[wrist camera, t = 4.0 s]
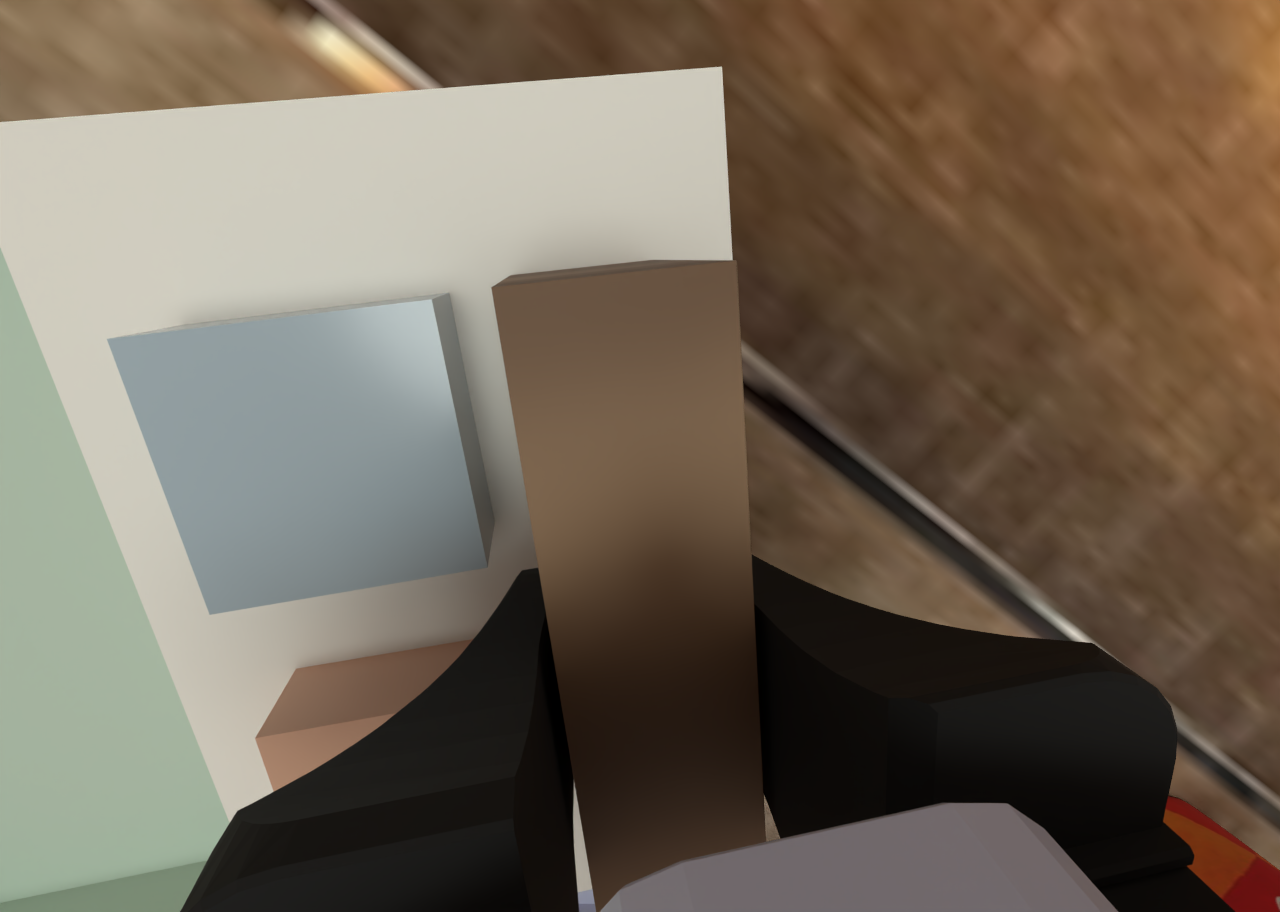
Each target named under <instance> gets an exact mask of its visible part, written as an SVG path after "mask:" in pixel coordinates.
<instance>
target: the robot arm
mask: <svg viewBox="0 0 1280 912" xmlns="http://www.w3.org/2000/svg"><path fill="white" fill-rule="evenodd" d="M751 555H752V554H751ZM752 575H753V595H754V615H755V634H756V654H757V674H758V694H759V714H760V734H761V754H762V774H763V793H764V796H765V798H766V800H767V803H768V805H769V808H770V810H771V813H772V816H773V819H774V822H775V824H776V827H777V830H778V833H779V835H780V838H781V839H777V840H773V841H768V842H764V843H759V844H755V845H750V846H746V847H741V848H737V849H732V850H728V851H723V852H719V853H714V854H710V855H705V856H701V857H696V858H692V859H687V860H683V861H679V862H677V863H675V864H672V865H670V866H668V867H666V868H663V869H661V870H659V871H656V872H654V873H652V874H650V875H647V876H645V877H643V878H640V879H638V880H636V881H633V882H631V883H629V884H627V885H625V886H624V887H622V888H621V889H620V890H619V891H618V892H617V893H616V894H615V895H614V897H613V898H612V899H611V900H610V901H609V902H608V903H607V904H606V905H605V906H604V907H603V909H602V910H601V911H600V912H1235V911H1234V910H1233V909H1232V908H1231V907H1230V906H1229V905H1228V904H1227V903H1226V902H1225V901H1224V900H1223V899H1221V898H1220V897H1219V896H1218V895H1217V894H1216V893H1215V892H1214V891H1213V890H1212V889H1211V888H1210V887H1209V886H1208V885H1206V884H1205V883H1204V882H1203V881H1202V880H1201V879H1200V878H1199V877H1198V876H1197V875H1196V874H1195V873H1194V872H1193V871H1191V870H1190V869H1189V868H1188V867H1187V866H1188V865H1192V864H1193V860H1194V856H1195V855H1194V853H1193V851H1192V849H1191V847H1190V845H1189V844H1187V843H1186V842H1185V841H1184V840H1183V839H1182V838H1181V837H1180V836H1179V835H1177V834H1176V833H1175V832H1174V831H1173V830H1172V829H1171V828H1170V827H1169V826H1167V825H1166V824H1165V823H1164V822H1163V819H1164V814H1165V809H1166V804H1167V799H1168V794H1169V789H1170V785H1171V780H1172V775H1173V770H1174V765H1175V760H1176V747H1177V727H1176V723H1175V719H1174V716H1173V712H1172V709H1171V706H1170V704H1169V703H1168V702H1167V700H1166V699H1165V698H1164V697H1163V695H1162V694H1161V693H1160V691H1159V690H1158V689H1157V688H1156V687H1155V686H1153V685H1152V684H1150V683H1149V682H1147V681H1146V680H1145V679H1143V678H1142V677H1140V676H1139V675H1137V674H1136V673H1135V672H1133V671H1132V670H1130V669H1129V668H1127V667H1126V666H1125V665H1123V664H1122V663H1120V662H1119V661H1117V660H1116V659H1115V658H1113V657H1112V656H1110V655H1109V654H1107V653H1106V652H1105V651H1103V650H1102V649H1100V648H1099V647H1097V646H1096V645H1095V644H1093V643H1086V642H1074V641H1062V640H1050V639H1037V638H1025V637H1014V636H1006V635H999V634H992V633H986V632H979V631H972V630H966V629H960V628H955V627H950V626H944V625H939V624H934V623H930V622H926V621H922V620H918V619H913V618H909V617H905V616H901V615H897V614H893V613H890V612H886V611H883V610H879V609H876V608H873V607H870V606H867V605H864V604H861V603H858V602H855V601H852V600H849V599H846V598H843V597H841V596H838V595H836V594H833V593H830V592H828V591H826V590H823V589H821V588H819V587H816V586H814V585H812V584H810V583H807V582H805V581H803V580H801V579H798V578H796V577H794V576H792V575H790V574H788V573H786V572H784V571H782V570H780V569H778V568H776V567H774V566H772V565H770V564H768V563H767V562H765V561H763V560H761V559H759V558H757V557H755V556H754V555H752ZM573 804H574V777H573V771H572V765H571V759H570V753H569V747H568V741H567V735H566V729H565V724H564V718H563V712H562V706H561V700H560V694H559V688H558V682H557V676H556V670H555V664H554V658H553V652H552V646H551V640H550V634H549V628H548V622H547V616H546V610H545V604H544V599H543V593H542V587H541V581H540V575H539V569H538V568H533V569H527V570H522V571H521V572H520V573H519V575H518V576H517V577H516V579H515V580H514V582H513V583H512V585H511V587H510V588H509V590H508V591H507V593H506V595H505V596H504V598H503V599H502V601H501V602H500V604H499V605H498V607H497V608H496V610H495V611H494V612H493V614H492V615H491V617H490V618H489V619H488V621H487V622H486V624H485V625H484V626H483V628H482V629H481V630H480V632H479V633H478V634H477V635H476V637H475V638H474V639H473V640H472V641H471V643H470V644H469V645H468V646H467V647H466V649H465V650H464V651H463V652H462V654H461V655H460V656H459V657H458V658H457V659H456V660H455V661H454V662H453V663H452V664H451V665H450V666H449V667H448V668H447V670H446V671H444V672H443V673H442V674H441V675H440V676H439V677H438V678H437V679H436V680H435V681H434V682H433V683H432V684H431V685H430V686H429V687H428V688H426V689H425V690H424V691H423V692H422V693H421V694H420V695H418V696H417V697H416V698H415V699H413V700H412V701H411V702H410V703H408V704H407V705H406V706H405V707H403V708H402V709H401V710H400V711H398V712H397V713H396V714H395V715H393V716H392V717H391V718H390V719H388V720H387V721H386V722H385V723H383V724H382V725H381V726H379V727H378V728H377V729H375V730H374V731H373V732H371V733H370V734H368V735H367V736H365V737H364V738H362V739H361V740H360V741H358V742H357V743H355V744H354V745H352V746H351V747H349V748H348V749H346V750H344V751H343V752H341V753H340V754H338V755H337V756H335V757H333V758H332V759H330V760H329V761H327V762H326V763H324V764H322V765H321V766H319V767H317V768H316V769H314V770H312V771H311V772H309V773H307V774H305V775H303V776H302V777H300V778H298V779H296V780H294V781H292V782H291V783H289V784H287V785H285V786H283V787H281V788H280V789H278V790H276V791H274V792H272V793H270V794H269V795H267V796H265V797H263V798H261V799H259V800H258V801H256V802H254V803H252V804H250V805H248V806H246V807H244V808H242V809H240V810H238V811H237V812H236V814H235V815H234V817H233V818H232V820H231V822H230V823H229V825H228V826H227V828H226V830H225V831H224V833H223V835H222V836H221V838H220V839H219V841H218V843H217V844H216V846H215V848H214V849H213V851H212V853H211V855H210V856H209V858H208V860H207V862H206V864H205V866H204V868H203V870H202V872H201V873H200V875H199V877H198V879H197V881H196V883H195V885H194V887H193V889H192V891H191V892H190V894H189V896H188V898H187V900H186V902H185V904H184V905H183V907H182V909H181V911H180V912H596V908H595V902H594V896H593V890H592V889H591V890H586V891H582V892H578V890H577V878H576V865H575V853H574V828H573Z"/></svg>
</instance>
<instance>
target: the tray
mask: <svg viewBox="0 0 1280 912" xmlns="http://www.w3.org/2000/svg"><path fill="white" fill-rule="evenodd" d="M228 825H229V820H228V818H227V815H226V813H225V810H224V808H223V805H222V803H221V800H220V798H219V795H218V793H217V790H216V788H215V785H214V783H213V780H212V778H211V775H210V772H209V770H208V767H207V765H206V762H205V760H204V757H203V755H202V752H201V750H200V747H199V745H198V742H197V740H196V737H195V735H194V732H193V730H192V727H191V725H190V722H189V720H188V717H187V715H186V712H185V710H184V707H183V705H182V702H181V700H180V697H179V695H178V692H177V690H176V687H175V685H174V682H173V680H172V677H171V675H170V672H169V670H168V667H167V665H166V662H165V660H164V657H163V655H162V652H161V650H160V647H159V645H158V642H157V639H156V637H155V634H154V632H153V629H152V627H151V624H150V622H149V619H148V617H147V614H146V612H145V609H144V607H143V604H142V602H141V599H140V597H139V594H138V592H137V589H136V587H135V584H134V582H133V579H132V577H131V574H130V572H129V569H128V567H127V564H126V562H125V559H124V557H123V554H122V552H121V549H120V547H119V544H118V542H117V539H116V537H115V534H114V532H113V529H112V527H111V524H110V522H109V519H108V517H107V514H106V512H105V509H104V506H103V504H102V501H101V499H100V496H99V494H98V491H97V489H96V486H95V484H94V481H93V479H92V476H91V474H90V471H89V469H88V466H87V464H86V461H85V459H84V456H83V454H82V451H81V449H80V446H79V444H78V441H77V439H76V436H75V434H74V431H73V429H72V426H71V424H70V421H69V419H68V416H67V414H66V411H65V409H64V406H63V404H62V401H61V399H60V396H59V394H58V391H57V389H56V386H55V384H54V381H53V378H52V376H51V373H50V371H49V368H48V366H47V363H46V361H45V358H44V356H43V353H42V351H41V348H40V346H39V343H38V341H37V338H36V336H35V333H34V331H33V328H32V326H31V323H30V321H29V318H28V316H27V313H26V311H25V308H24V306H23V303H22V301H21V298H20V296H19V293H18V291H17V288H16V286H15V283H14V281H13V278H12V276H11V273H10V271H9V268H8V266H7V263H6V261H5V258H4V256H3V253H2V251H1V248H0V912H180V911H181V909H182V907H183V905H184V904H185V902H186V900H187V898H188V896H189V894H190V892H191V891H192V889H193V887H194V885H195V883H196V881H197V879H198V877H199V875H200V873H201V872H202V870H203V868H204V866H205V864H206V862H207V860H208V858H209V856H210V855H211V853H212V851H213V849H214V848H215V846H216V844H217V843H218V841H219V839H220V838H221V836H222V835H223V833H224V831H225V830H226V828H227V826H228Z"/></svg>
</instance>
